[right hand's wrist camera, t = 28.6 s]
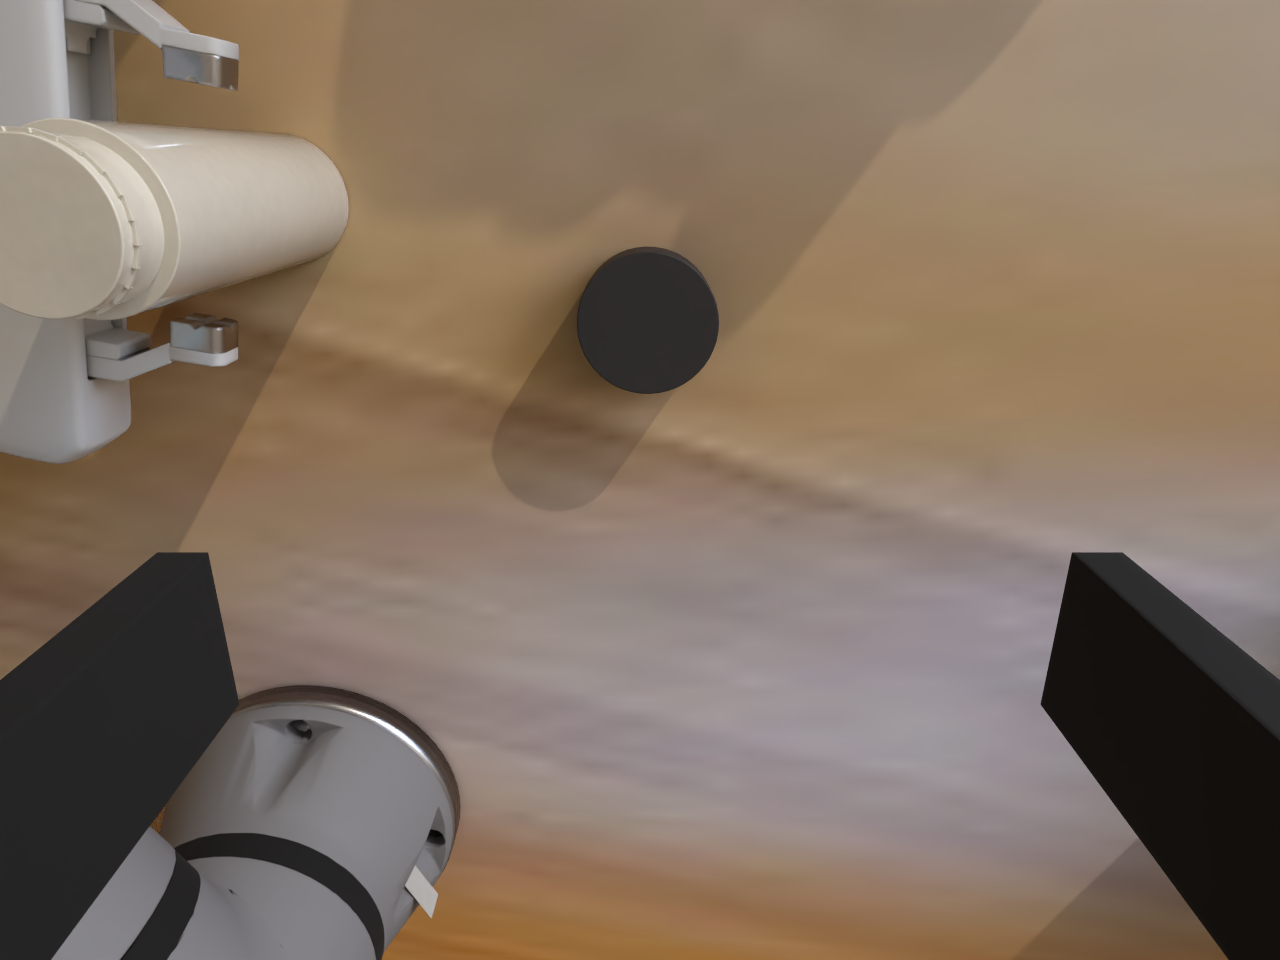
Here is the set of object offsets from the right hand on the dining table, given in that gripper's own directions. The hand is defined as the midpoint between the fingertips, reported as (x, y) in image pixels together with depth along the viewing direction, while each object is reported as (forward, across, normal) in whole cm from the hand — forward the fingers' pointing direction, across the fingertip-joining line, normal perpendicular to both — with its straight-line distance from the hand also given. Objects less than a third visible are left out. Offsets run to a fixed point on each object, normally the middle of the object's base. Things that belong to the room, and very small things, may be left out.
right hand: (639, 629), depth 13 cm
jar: (+26, +15, -5) cm, 31 cm away
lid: (+24, 0, 0) cm, 24 cm away
